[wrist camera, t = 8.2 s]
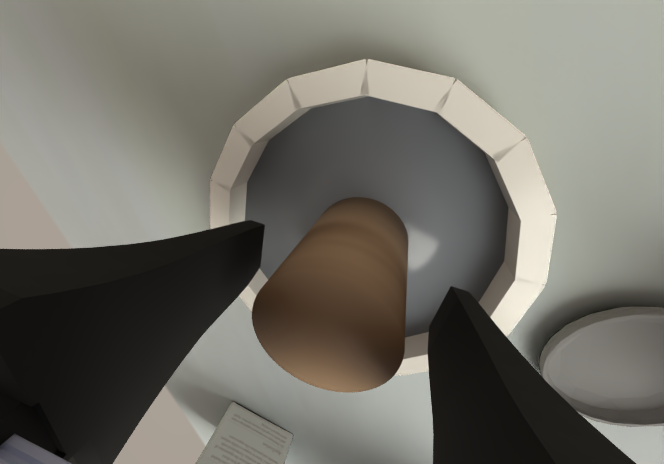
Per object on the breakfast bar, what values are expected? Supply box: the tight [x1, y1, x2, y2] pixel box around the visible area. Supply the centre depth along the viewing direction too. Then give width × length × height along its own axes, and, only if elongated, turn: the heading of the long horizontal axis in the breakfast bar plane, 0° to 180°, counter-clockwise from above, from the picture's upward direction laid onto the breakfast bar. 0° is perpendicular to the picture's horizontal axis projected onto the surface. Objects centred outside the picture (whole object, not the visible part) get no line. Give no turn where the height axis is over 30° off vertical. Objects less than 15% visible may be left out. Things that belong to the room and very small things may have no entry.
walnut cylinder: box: [252, 197, 408, 392], centre depth 10 cm, size 4×4×6 cm
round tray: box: [210, 59, 557, 376], centre depth 12 cm, size 14×14×2 cm
